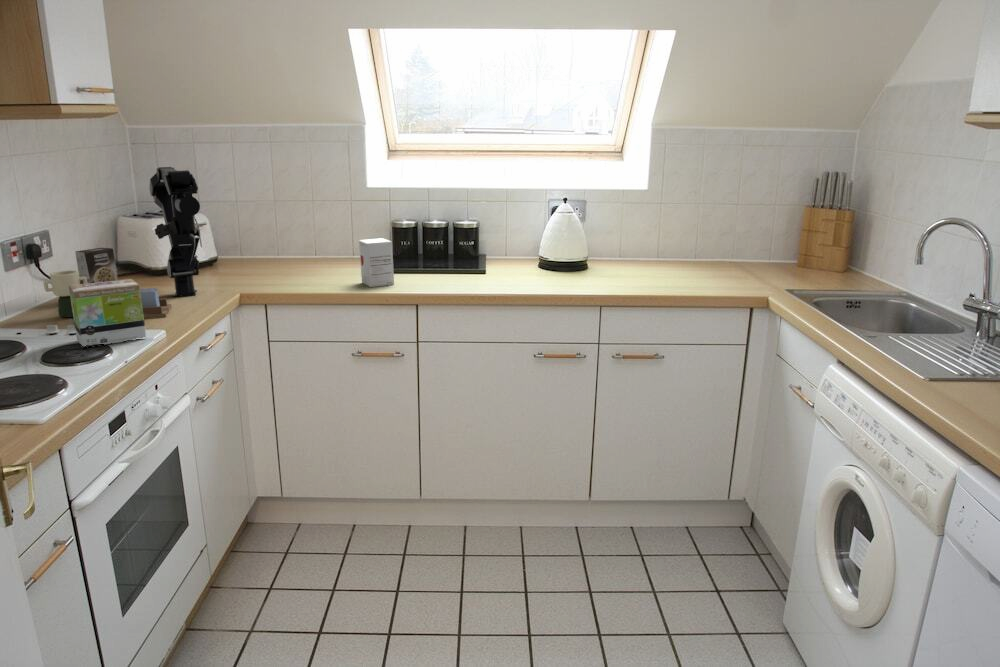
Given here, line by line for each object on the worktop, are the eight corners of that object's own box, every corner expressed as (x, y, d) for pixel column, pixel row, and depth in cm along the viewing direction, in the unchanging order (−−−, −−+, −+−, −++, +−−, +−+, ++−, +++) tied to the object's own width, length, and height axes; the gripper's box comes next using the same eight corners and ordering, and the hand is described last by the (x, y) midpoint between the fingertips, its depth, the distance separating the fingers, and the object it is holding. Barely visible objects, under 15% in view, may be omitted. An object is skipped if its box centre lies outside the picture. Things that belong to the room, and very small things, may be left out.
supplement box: (361, 282, 257) (358, 239, 252) (385, 280, 261) (383, 237, 257) (369, 287, 249) (366, 243, 245) (394, 284, 253) (392, 240, 249)
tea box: (82, 349, 184) (72, 291, 180) (76, 340, 192) (66, 284, 188) (147, 339, 192) (139, 283, 188) (139, 331, 200) (131, 277, 196)
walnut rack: (121, 311, 222) (119, 301, 221) (171, 307, 225) (170, 297, 224) (112, 321, 211) (110, 310, 210) (165, 317, 214) (164, 306, 213)
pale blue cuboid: (127, 310, 219) (124, 290, 217) (160, 307, 221) (157, 287, 219) (123, 313, 214) (120, 293, 212) (157, 311, 216) (154, 291, 215)
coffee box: (94, 303, 232) (86, 252, 227) (82, 301, 235) (73, 250, 230) (121, 297, 239) (113, 248, 235) (109, 295, 242) (101, 246, 238)
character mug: (92, 311, 222) (85, 268, 218) (92, 316, 216) (85, 272, 212) (50, 316, 217) (42, 272, 213) (49, 321, 211) (41, 276, 207)
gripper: (159, 210, 231) (166, 260, 236) (149, 217, 214) (156, 271, 218) (197, 209, 234) (203, 258, 238) (190, 216, 217) (197, 268, 221)
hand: (189, 263), depth 229 cm, fingers open, 9 cm apart
